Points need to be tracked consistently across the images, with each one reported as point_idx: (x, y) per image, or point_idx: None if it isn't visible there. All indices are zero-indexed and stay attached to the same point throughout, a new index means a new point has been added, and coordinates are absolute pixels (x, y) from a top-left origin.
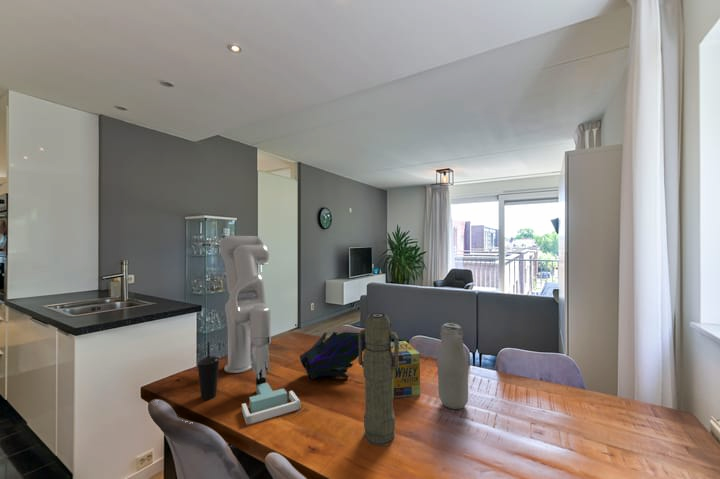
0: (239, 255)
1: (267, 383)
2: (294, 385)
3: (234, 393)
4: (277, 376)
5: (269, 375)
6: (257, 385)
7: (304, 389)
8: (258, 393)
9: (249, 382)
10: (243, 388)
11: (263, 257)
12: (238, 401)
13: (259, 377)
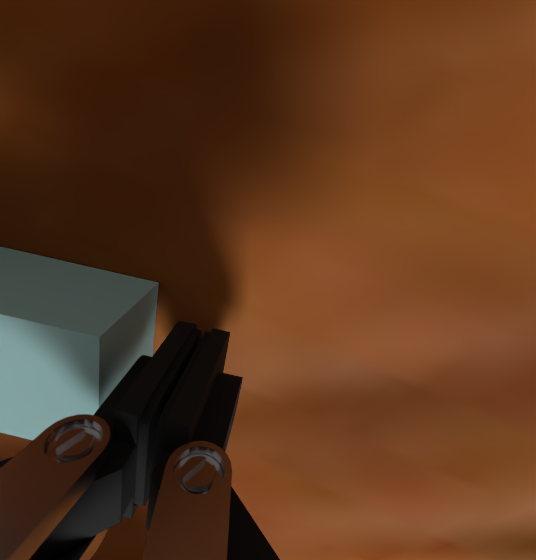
0: None
1: None
2: (128, 539)
3: (383, 80)
4: (383, 551)
5: (469, 529)
6: (74, 339)
7: None
8: (21, 279)
9: (512, 350)
10: (422, 235)
11: None
12: (116, 41)
13: (25, 463)
